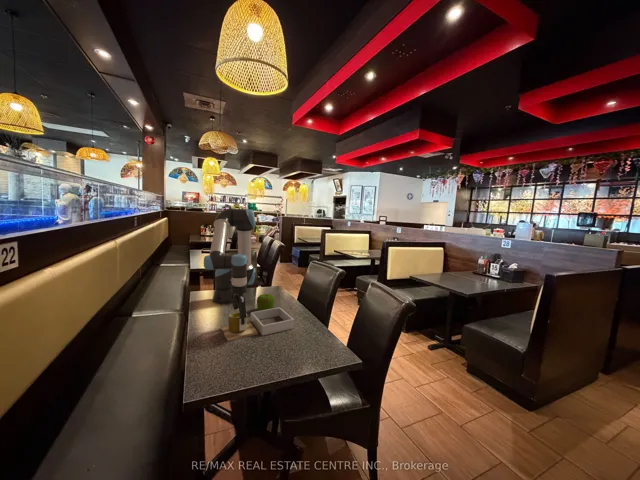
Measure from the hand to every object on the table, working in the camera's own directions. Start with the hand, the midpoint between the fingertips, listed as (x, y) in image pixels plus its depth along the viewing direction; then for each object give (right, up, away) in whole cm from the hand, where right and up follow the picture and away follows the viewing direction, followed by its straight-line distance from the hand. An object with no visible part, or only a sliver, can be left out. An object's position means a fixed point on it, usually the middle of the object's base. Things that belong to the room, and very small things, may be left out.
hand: (239, 325), depth 134 cm
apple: (+8, 0, +30) cm, 31 cm away
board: (0, -3, 0) cm, 3 cm away
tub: (+15, -3, +10) cm, 18 cm away
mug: (0, -2, +1) cm, 2 cm away
